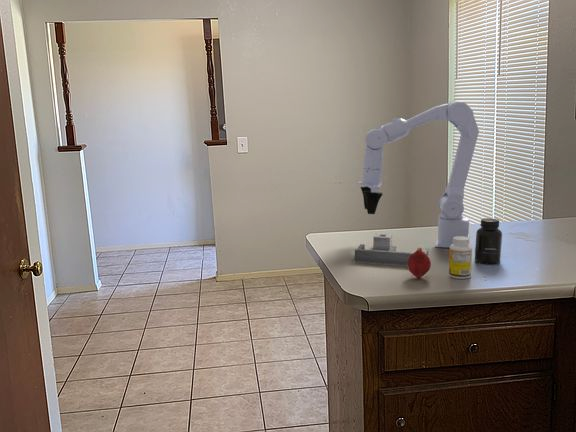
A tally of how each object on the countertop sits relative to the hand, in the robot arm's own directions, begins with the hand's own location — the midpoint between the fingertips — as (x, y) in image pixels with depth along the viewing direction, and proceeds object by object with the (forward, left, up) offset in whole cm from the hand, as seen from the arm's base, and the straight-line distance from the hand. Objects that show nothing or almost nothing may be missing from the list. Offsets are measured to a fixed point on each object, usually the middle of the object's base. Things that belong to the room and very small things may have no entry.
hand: (369, 211), depth 177 cm
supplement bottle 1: (-28, +27, -11) cm, 41 cm away
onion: (-18, +31, -11) cm, 38 cm away
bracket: (-9, +17, -11) cm, 22 cm away
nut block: (-5, +3, -11) cm, 12 cm away
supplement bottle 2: (-35, +11, -11) cm, 39 cm away
